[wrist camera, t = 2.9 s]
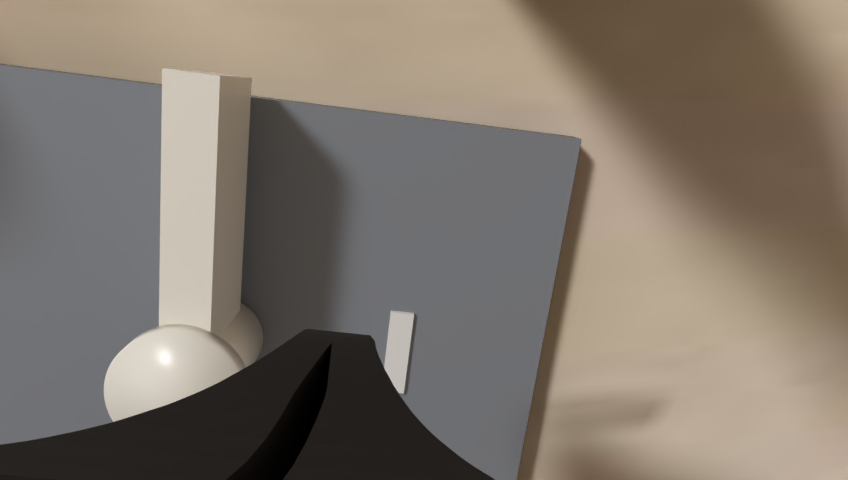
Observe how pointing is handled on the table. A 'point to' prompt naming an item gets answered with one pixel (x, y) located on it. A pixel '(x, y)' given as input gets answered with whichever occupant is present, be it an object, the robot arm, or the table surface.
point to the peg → (195, 250)
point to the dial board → (283, 250)
